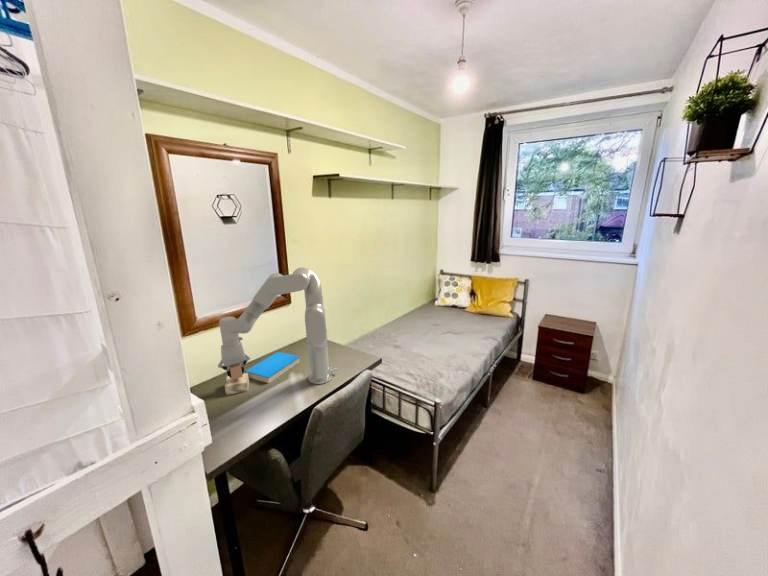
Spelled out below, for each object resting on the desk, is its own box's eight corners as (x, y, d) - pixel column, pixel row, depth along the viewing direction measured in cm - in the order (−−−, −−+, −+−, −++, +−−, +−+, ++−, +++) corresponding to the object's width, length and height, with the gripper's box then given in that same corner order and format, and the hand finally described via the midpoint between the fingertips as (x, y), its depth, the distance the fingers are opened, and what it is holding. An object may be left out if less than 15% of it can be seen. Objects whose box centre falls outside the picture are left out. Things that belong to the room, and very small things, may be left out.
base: (249, 381, 169) (247, 372, 168) (248, 391, 160) (246, 382, 159) (228, 384, 166) (226, 376, 165) (226, 395, 157) (224, 386, 156)
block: (240, 372, 165) (239, 361, 163) (242, 376, 161) (241, 365, 159) (230, 375, 162) (228, 364, 161) (231, 379, 158) (230, 368, 156)
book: (299, 356, 187) (268, 376, 165) (300, 363, 188) (269, 384, 166) (277, 351, 194) (244, 370, 172) (277, 357, 195) (245, 377, 173)
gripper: (247, 335, 164) (252, 367, 169) (210, 343, 155) (216, 377, 160) (251, 340, 158) (255, 373, 163) (212, 349, 149) (218, 384, 154)
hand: (236, 374), depth 161 cm, fingers closed on block, 4 cm apart
